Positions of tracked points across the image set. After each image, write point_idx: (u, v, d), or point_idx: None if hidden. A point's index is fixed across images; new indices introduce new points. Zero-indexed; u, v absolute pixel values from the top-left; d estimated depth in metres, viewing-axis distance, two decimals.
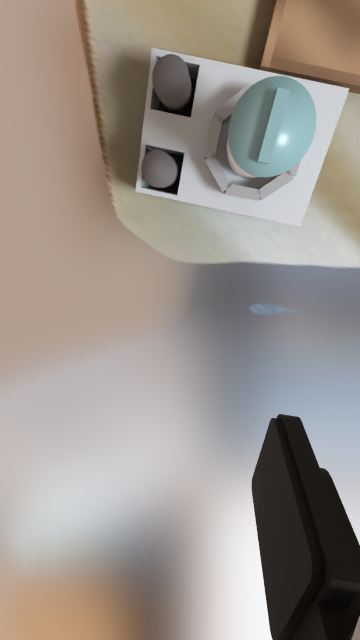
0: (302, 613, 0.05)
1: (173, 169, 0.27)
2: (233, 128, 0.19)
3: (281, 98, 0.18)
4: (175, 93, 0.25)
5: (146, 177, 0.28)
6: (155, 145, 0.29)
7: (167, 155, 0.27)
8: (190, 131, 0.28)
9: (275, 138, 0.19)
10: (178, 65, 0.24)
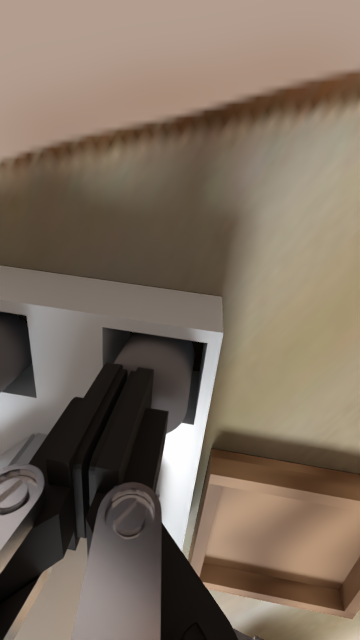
0: None
1: None
2: None
3: None
4: None
5: None
6: (32, 338, 0.11)
7: None
8: None
9: None
10: None
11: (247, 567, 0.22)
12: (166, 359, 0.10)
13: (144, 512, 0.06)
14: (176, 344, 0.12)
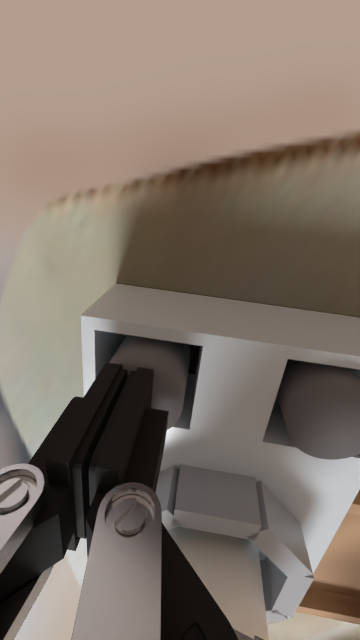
0: None
1: None
2: None
3: None
4: (302, 434, 0.10)
5: None
6: (201, 369, 0.11)
7: (171, 422, 0.10)
8: (233, 441, 0.12)
9: None
10: (357, 441, 0.10)
11: (341, 590, 0.21)
12: (358, 382, 0.10)
13: (144, 512, 0.06)
14: None
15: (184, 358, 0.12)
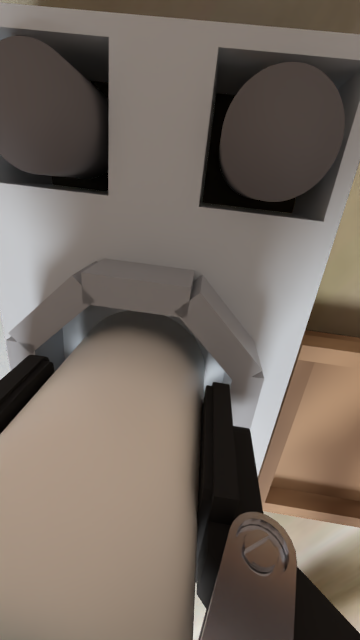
0: (201, 533, 0.06)
1: (43, 171, 0.09)
2: None
3: None
4: (240, 159, 0.08)
5: None
6: (112, 82, 0.08)
7: (75, 145, 0.08)
8: (163, 209, 0.10)
9: None
10: (310, 163, 0.08)
11: (318, 488, 0.19)
12: None
13: (277, 554, 0.05)
14: None
15: (102, 100, 0.09)
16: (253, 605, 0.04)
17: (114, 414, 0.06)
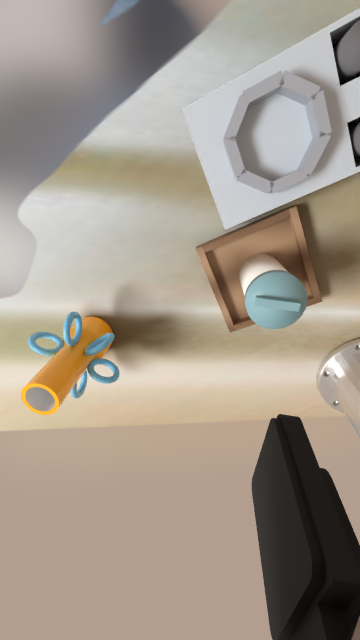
0: (302, 613, 0.05)
1: (345, 56, 0.24)
2: (278, 276, 0.26)
3: (294, 306, 0.26)
4: None
5: None
6: None
7: (357, 65, 0.24)
8: (342, 110, 0.26)
9: (270, 307, 0.27)
10: None
11: (219, 275, 0.37)
12: None
13: None
14: None
15: None
16: None
17: (277, 264, 0.30)
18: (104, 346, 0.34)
